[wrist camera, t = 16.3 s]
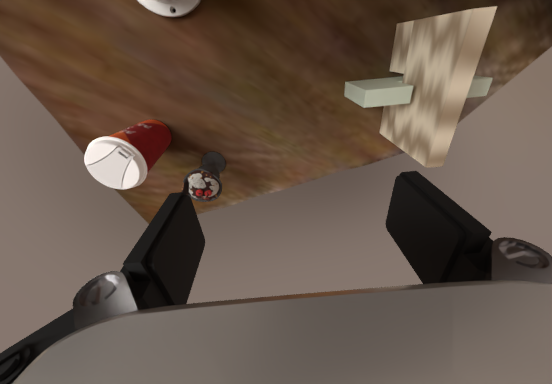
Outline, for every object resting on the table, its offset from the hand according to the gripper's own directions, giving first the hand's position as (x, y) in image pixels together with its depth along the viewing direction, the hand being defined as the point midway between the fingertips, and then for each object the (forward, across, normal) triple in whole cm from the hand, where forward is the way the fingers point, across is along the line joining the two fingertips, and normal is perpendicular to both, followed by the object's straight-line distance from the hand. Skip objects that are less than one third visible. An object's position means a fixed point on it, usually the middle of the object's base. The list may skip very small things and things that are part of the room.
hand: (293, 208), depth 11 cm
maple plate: (+36, -22, +1) cm, 42 cm away
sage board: (+36, -22, +1) cm, 42 cm away
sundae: (+36, +14, +13) cm, 41 cm away
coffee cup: (+36, +24, +6) cm, 44 cm away
